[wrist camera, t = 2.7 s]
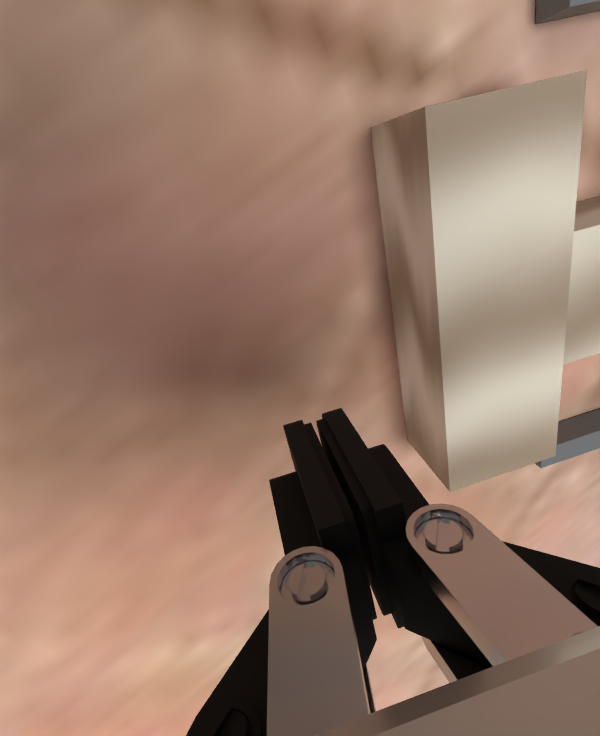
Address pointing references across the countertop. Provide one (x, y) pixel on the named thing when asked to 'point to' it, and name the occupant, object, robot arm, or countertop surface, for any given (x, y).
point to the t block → (488, 271)
